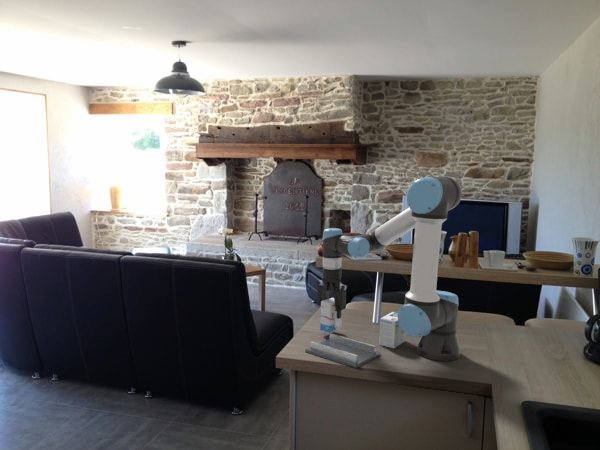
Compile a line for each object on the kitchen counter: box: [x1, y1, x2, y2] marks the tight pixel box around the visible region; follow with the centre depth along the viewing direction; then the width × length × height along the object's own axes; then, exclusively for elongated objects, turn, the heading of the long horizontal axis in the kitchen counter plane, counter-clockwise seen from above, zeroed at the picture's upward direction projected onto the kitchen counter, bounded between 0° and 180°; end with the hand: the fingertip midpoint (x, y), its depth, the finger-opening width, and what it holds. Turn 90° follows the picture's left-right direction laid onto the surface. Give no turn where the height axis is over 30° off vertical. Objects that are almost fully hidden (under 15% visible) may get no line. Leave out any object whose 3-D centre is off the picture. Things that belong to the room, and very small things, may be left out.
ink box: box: [319, 297, 343, 333], centre depth 211 cm, size 9×5×12 cm, turn 142°
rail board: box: [304, 332, 381, 369], centre depth 191 cm, size 22×16×4 cm
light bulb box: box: [378, 311, 407, 349], centre depth 202 cm, size 11×7×11 cm, turn 145°
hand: (331, 324), depth 211 cm, fingers closed on ink box, 5 cm apart
